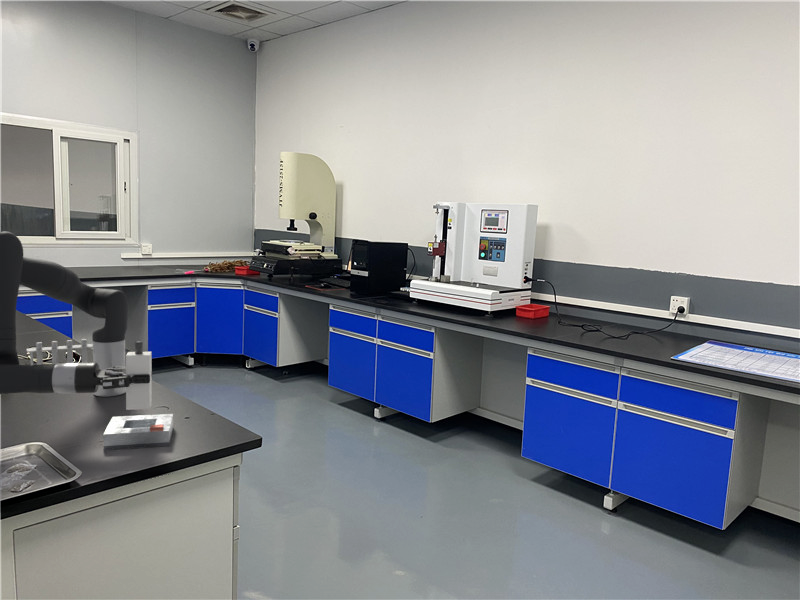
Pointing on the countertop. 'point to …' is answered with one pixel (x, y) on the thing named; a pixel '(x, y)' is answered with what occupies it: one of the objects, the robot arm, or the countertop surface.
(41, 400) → the countertop surface
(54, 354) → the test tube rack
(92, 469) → the countertop surface
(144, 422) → the socket box
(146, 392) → the plug
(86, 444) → the countertop surface
